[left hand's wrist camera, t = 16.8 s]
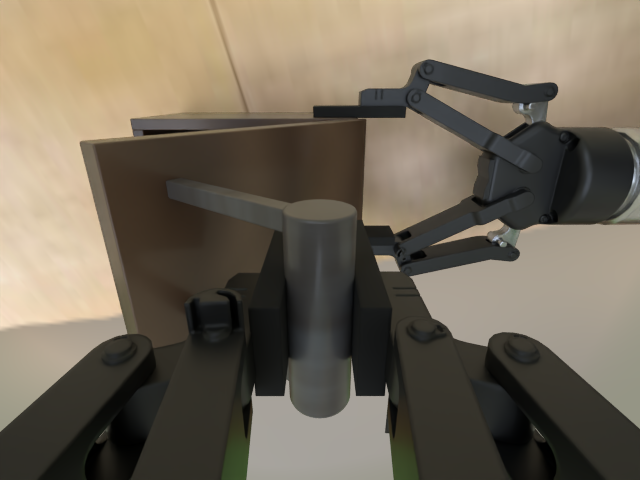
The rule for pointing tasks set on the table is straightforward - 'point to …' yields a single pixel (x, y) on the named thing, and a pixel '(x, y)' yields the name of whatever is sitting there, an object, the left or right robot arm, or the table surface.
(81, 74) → the table surface
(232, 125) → the chest
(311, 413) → the lid
